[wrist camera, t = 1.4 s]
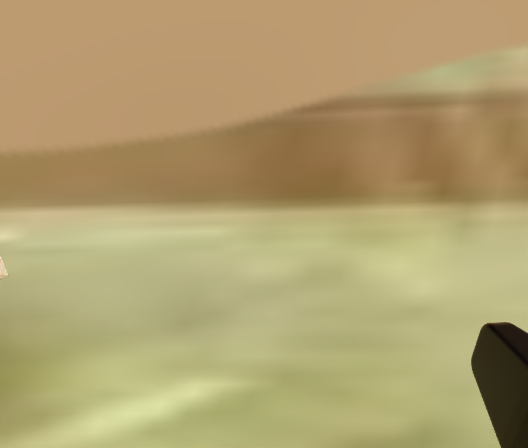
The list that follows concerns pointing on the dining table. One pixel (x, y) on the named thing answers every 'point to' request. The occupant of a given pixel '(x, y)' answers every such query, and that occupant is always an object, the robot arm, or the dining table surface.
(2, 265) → the plug
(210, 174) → the dining table surface
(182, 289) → the dining table surface
